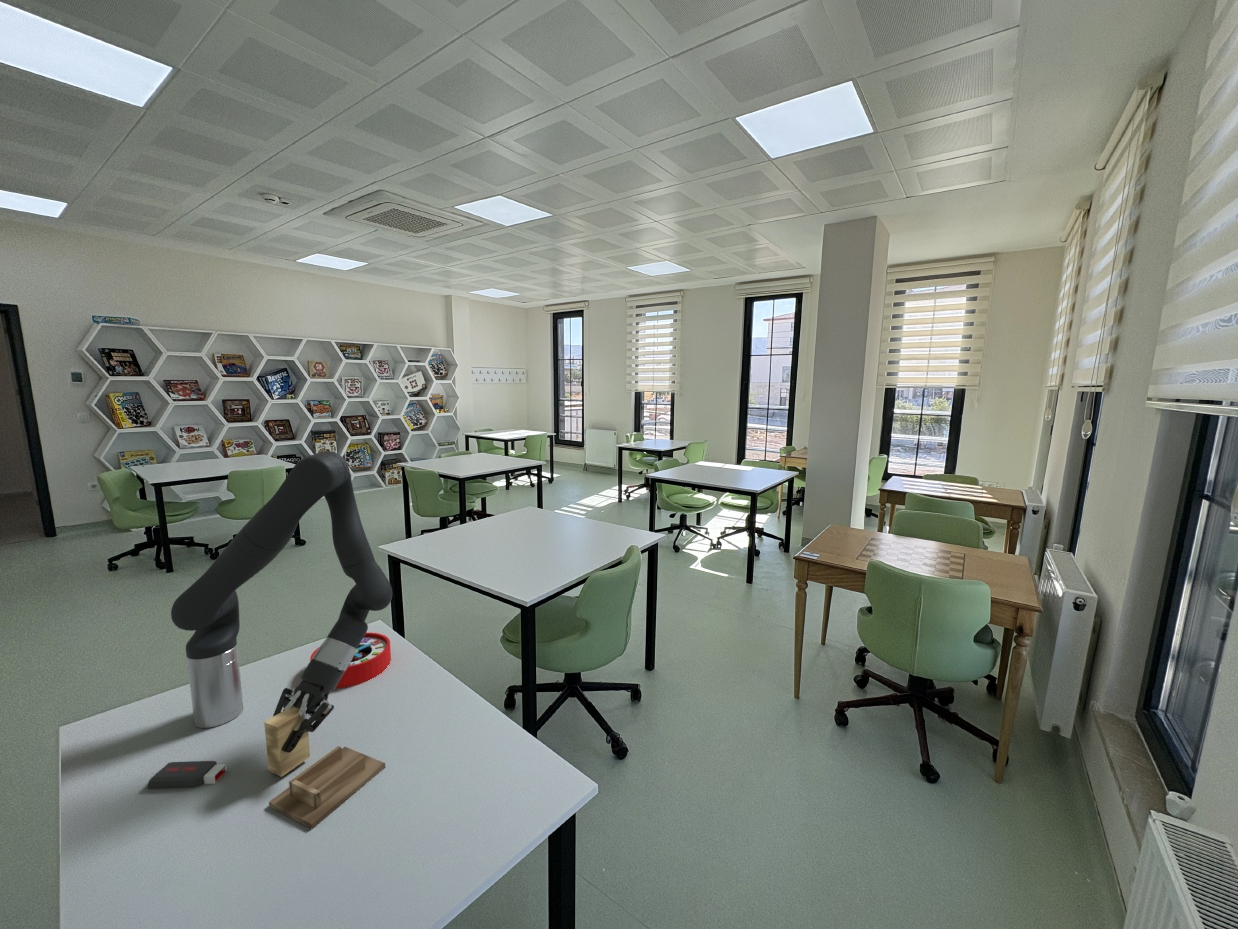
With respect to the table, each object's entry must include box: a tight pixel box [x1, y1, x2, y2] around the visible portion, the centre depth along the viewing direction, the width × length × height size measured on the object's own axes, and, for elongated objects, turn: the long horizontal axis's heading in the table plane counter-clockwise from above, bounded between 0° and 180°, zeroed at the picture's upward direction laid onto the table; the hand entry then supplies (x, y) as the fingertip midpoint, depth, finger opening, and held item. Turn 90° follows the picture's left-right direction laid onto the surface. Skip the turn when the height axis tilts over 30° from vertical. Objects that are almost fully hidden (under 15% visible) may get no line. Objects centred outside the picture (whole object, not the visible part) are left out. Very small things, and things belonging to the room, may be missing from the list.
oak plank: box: [263, 707, 311, 778], centre depth 101 cm, size 4×6×11 cm, turn 158°
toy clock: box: [309, 632, 392, 689], centre depth 138 cm, size 20×6×20 cm
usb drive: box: [146, 760, 228, 790], centre depth 98 cm, size 5×12×3 cm, turn 93°
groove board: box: [268, 746, 386, 830], centre depth 97 cm, size 12×16×4 cm
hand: (278, 747), depth 99 cm, fingers closed on oak plank, 4 cm apart
